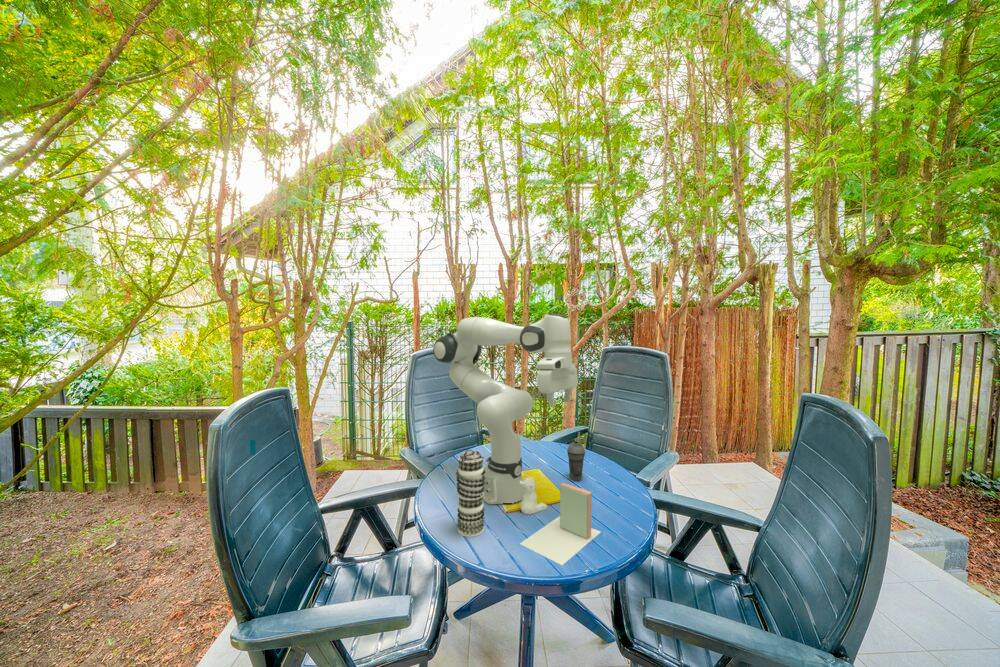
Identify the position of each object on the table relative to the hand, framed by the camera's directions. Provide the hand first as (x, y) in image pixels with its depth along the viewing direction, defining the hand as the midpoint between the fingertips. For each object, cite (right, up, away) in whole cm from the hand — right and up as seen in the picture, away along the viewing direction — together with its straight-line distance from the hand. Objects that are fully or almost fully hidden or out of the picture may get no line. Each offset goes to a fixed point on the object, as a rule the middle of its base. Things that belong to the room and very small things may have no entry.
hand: (559, 404), depth 134 cm
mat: (-1, -40, -10) cm, 41 cm away
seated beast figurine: (-9, -39, +7) cm, 40 cm away
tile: (+4, -39, -7) cm, 40 cm away
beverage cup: (+11, -37, +33) cm, 51 cm away
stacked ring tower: (-29, -39, -5) cm, 49 cm away
